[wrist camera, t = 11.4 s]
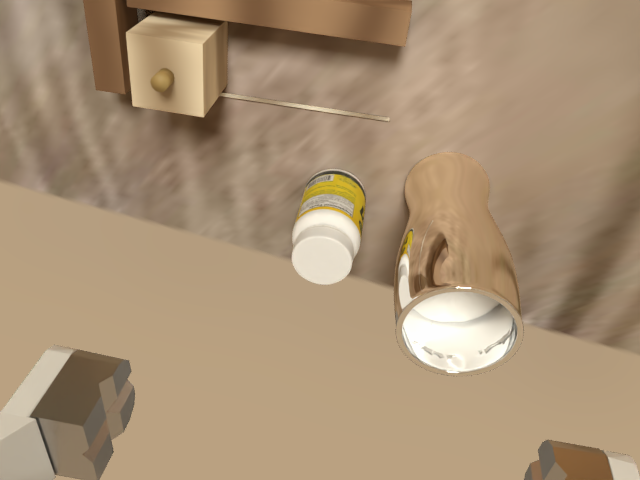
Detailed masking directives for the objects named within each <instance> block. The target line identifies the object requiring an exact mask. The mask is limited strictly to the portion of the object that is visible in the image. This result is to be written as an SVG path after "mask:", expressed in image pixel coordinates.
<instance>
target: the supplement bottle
mask: <svg viewBox="0 0 640 480" xmlns="http://www.w3.org/2000/svg"><path fill="white" fill-rule="evenodd" d="M365 202H366V194H365V190H364V187H363V185H362V183H361V182H360V181H359V180H358V178H356V177H355V176H354V175H353V174H351V173H349V172H347V171H344V170H339V169H327V170H323V171H320V172H318V173H316V174H315V175H314V176H313V177H312V178H311V179H310V180H309V181H308V183H307V185H306V187H305V191H304V194H303V198H302V201H301V204H300V208H299V211H298V215H297V218H296V221H295V225H294V228H293V232H292V242H293V246H294V247H293V251H292V264H293V266H294V268H295V270H296V271H297V273H298V274H299V275H300V276H302V277H303V278H304V279H306V280H308V281H310V282H312V283H315V284H320V285H329V284H334V283H337V282H339V281H341V280H343V279H344V278H345V277H346V276H347V275H348V274H349V272H350V270H351V267H352V263H353V259H354V257H355V256H356V254H357V252H358V250H359V247H360V243H361V235H362V226H363V219H364V211H365Z"/></svg>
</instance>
